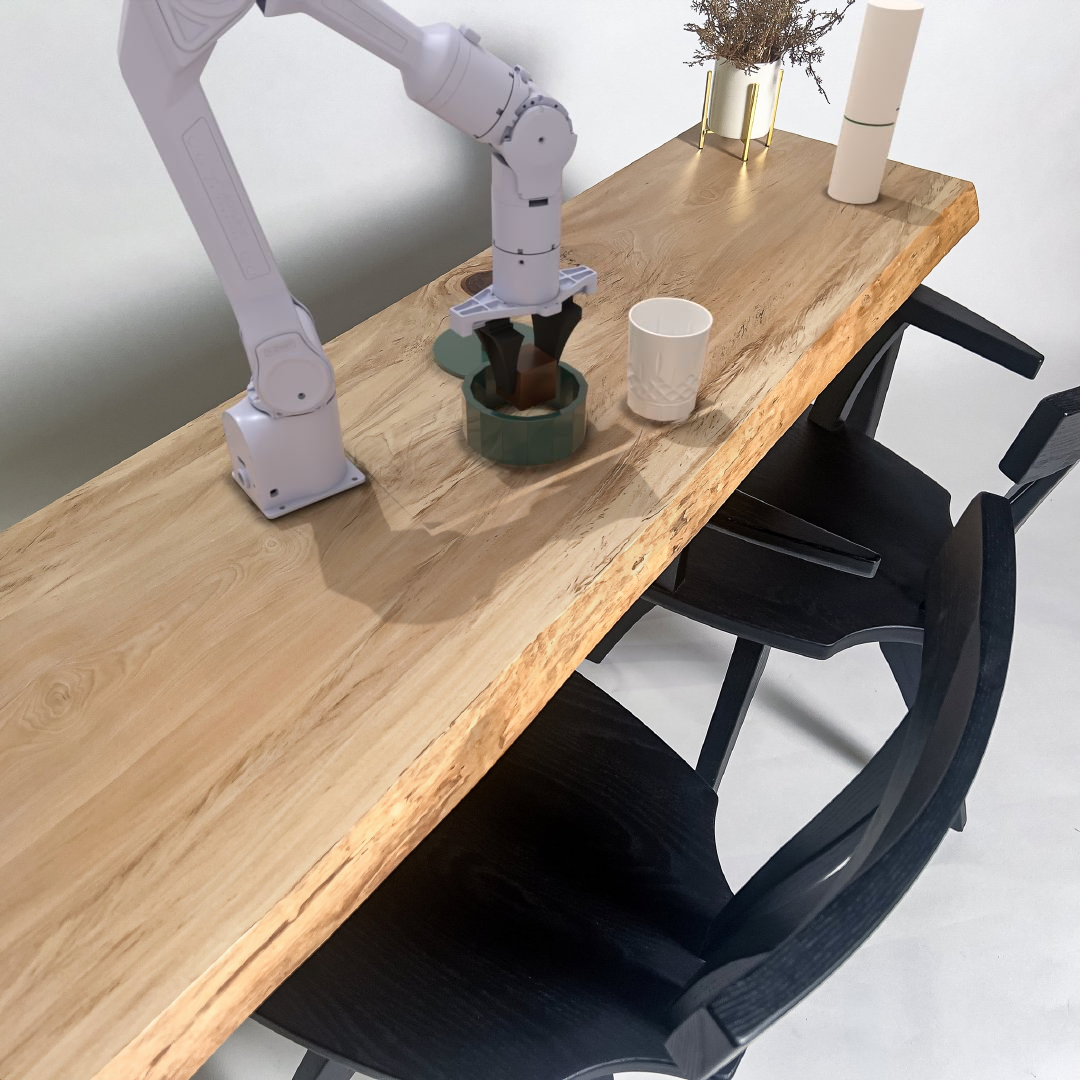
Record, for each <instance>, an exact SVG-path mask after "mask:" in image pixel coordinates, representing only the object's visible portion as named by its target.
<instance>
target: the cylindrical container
mask: <svg viewBox="0 0 1080 1080" xmlns="http://www.w3.org/2000/svg"><path fill="white" fill-rule="evenodd" d="M925 7H926V5H925V4H924V3H922V2H920V1H917V0H868V1H867V5H866V10H865V15H864V19H863V23H862V28H861V33H860V38H859V42H858V47H857V52H856V57H855V61H854V65H853V71H852V75H851V80H850V85H849V90H848V94H847V97H846V104H845V108H844V113H843V118H842V121H841V122H842V123H841V127H840V132H839V136H838V140H837V141H838V142H837V146H836V151H835V155H834V160H833V165H832V170H831V174H830V179H829V184H828V188H827V194H828V196H829V197H831V198H832V199H834V200H835V201H839V202H842V203H847V204H853V205H865V204H871V203H874V202H876V201H877V200H878V197H879V193H880V190H881V185H882V181H883V178H884V174H885V169H886V165H887V161H888V158H889V153H890V149H891V146H892V141H893V138H894V137H893V136H894V133H895V128H896V125H897V121H898V117H899V113H900V108H901V105H902V100H903V96H904V92H905V88H906V84H907V81H908V76H909V72H910V68H911V63H912V60H913V56H914V52H915V48H916V45H917V44H916V43H917V40H918V37H919V31H920V28H921V24H922V19H923V16H924V12H925Z"/></svg>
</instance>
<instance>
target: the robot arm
mask: <svg viewBox="0 0 1080 1080" xmlns="http://www.w3.org/2000/svg"><path fill="white" fill-rule="evenodd" d="M255 4H256V6H257V8H258V9H259V10H260V12H261V14H262V16H263V17H264V18H276V17H280V16H287V15H293V14H300V13H301V14H305V15H307V16H309V17H310V18H312V19H314V20H316V21H317V22H319V23H321V24H323V25H324V26H326V27H327V28H329V29H331V30H332V31H334V32H335V33H337V34H339V35H341V36H342V37H344V38H345V39H347V40H349V41H351V42H352V43H354V44H356V45H357V46H359V47H360V48H362V49H364V50H366V51H367V52H370V54H372V55H374V56H375V57H377V58H379V59H381V60H383V61H384V62H386V63H387V64H389V65H391V66H393V68H396V69H398V70H399V72H400V76H401V79H402V84H403V89H404V93H405V95H406V96H407V98H408V99H409V100H411V101H412V102H414V103H415V104H417V105H418V106H420V107H422V108H423V109H425V110H426V111H428V112H430V113H431V114H433V115H435V116H436V117H438V118H439V119H441V120H442V121H444V122H446V123H447V124H448V125H450V126H452V127H454V128H455V129H457V130H458V131H460V132H461V133H463V134H465V135H466V136H468V137H469V138H471V139H473V140H474V141H476V142H478V143H484V144H487V146H488V147H490V148H493V149H495V150H496V151H492V152H491V188H490V190H491V191H490V193H491V253H492V261H491V262H492V284H490V285H489V286H487V287H485V288H484V289H482V290H481V291H479V292H477V293H476V294H475V295H473V296H471V297H470V298H468V299H467V300H465V301H463V302H462V303H459V304H457V305H454V306H452V307H449V309H448V311H449V329H452V330H453V331H454V332H456V333H457V334H458V335H460V336H462V337H466V336H469V335H472V330H474V331H475V333H476V335H477V336H478V338H479V340H480V342H481V343H482V345H483V347H484V349H485V352H486V354H487V356H488V359H489V362H490V364H491V368H492V371H493V374H494V378H495V382H496V386H497V387H498V388H499V389H500V390H502V391H503V392H504V393H506V394H507V395H511V394H514V393H515V389H516V382H517V362H518V356H519V352H520V348H521V345H522V342H523V340H524V337H525V336H524V335H523V334H521V333H520V332H518V331H517V330H515V329H514V328H513V323H511V322H510V321H511V318H512V317H520V316H529V315H530V317H531V322H532V323H531V324H532V327H533V331H534V345H535V346H536V347H538V348H539V349H541V350H542V351H544V352H545V353H547V354H548V355H550V356H551V357H553V358H554V359H555V360H557V366H556V370H557V367H558V364H559V361H561V358H562V355H563V352H564V349H565V347H566V346H567V345H566V344H568V343H567V342H568V341H569V339H570V337H571V335H572V333H573V332H574V330H575V328H576V327H577V326H578V324H579V323H580V322H581V321H582V319H583V318H582V317H583V307H582V306H581V305H579V304H577V303H576V302H575V301H574V297H575V296H577V295H580V294H584V295H586V296H590V295H592V294H596V293H597V291H598V290H597V289H598V288H597V287H598V272H597V271H595V270H593V269H592V268H590V267H588V266H586V265H584V264H583V265H580V266H576V267H571V268H570V267H569V268H564V269H563V268H562V269H560V268H561V267H560V266H561V242H562V241H561V240H562V214H563V210H562V209H563V172H564V169H565V167H566V166H567V164H568V163H569V162H570V160H571V158H572V156H573V154H574V152H575V151H576V147H577V144H578V143H577V142H578V134H577V133H575V132H574V131H573V123H572V121H573V120H572V118H570V116H569V115H570V113H569V112H568V110H567V109H566V108H565V106H564V105H563V104H562V103H561V102H559V101H558V100H557V99H555V98H554V97H553V96H552V95H550V94H549V93H548V92H547V91H546V90H544V89H543V88H542V87H541V86H539V84H537V83H535V82H534V80H533V79H532V78H531V77H532V74H531V72H529V71H528V70H527V69H525V68H524V67H523V66H521V65H520V64H515V66H514V67H511V66H510V65H509V64H507V63H506V62H505V61H503V60H501V59H500V58H498V57H497V56H496V55H494V54H493V53H491V52H490V51H489V50H487V49H486V48H484V47H483V46H482V45H480V44H479V43H480V41H481V40H482V37H481V35H480V34H479V33H478V32H477V31H476V30H474V29H472V28H471V27H470V26H469V25H467V24H466V23H463V22H462V23H461V24H460V25H459V26H458V28H456V27H455V26H454V25H452V24H450V22H446V21H441V22H436V23H433V24H429V25H425V26H418V25H417V24H416V23H414V22H412V21H411V20H410V19H408V18H407V17H406V16H404V15H403V14H401V13H400V12H399V11H397V10H396V9H395V8H393V7H392V6H391V5H389V4H388V3H386V1H384V0H122V7H121V15H120V23H119V30H118V37H117V47H116V48H117V49H116V53H117V62H118V66H119V70H120V73H121V76H122V79H123V81H124V83H125V85H126V87H127V90H128V92H129V94H130V96H131V98H132V100H133V102H134V104H135V107H136V109H137V110H138V113H139V115H140V117H141V119H142V121H143V123H144V126H145V127H146V129H147V131H148V134H149V136H150V138H151V140H152V142H153V144H154V147H155V148H156V150H157V153H158V155H159V157H160V160H161V161H162V163H163V164H164V167H165V169H166V172H167V173H168V175H169V178H170V180H171V182H172V184H173V187H174V188H175V191H176V192H177V194H178V197H179V198H180V201H181V203H182V205H183V207H184V210H185V211H186V213H187V216H188V218H189V219H190V222H191V224H192V226H193V228H194V230H195V232H196V235H197V237H198V239H199V241H200V243H201V245H202V247H203V249H204V251H205V254H206V255H207V258H208V259H209V262H210V264H211V266H212V268H213V270H214V273H215V274H216V276H217V279H218V281H219V282H220V285H221V287H222V289H223V291H224V293H225V296H226V297H227V299H228V302H229V304H230V306H231V308H232V311H233V313H234V316H235V318H236V320H237V324H238V327H239V332H238V333H239V338H240V341H241V344H242V346H243V348H244V350H245V353H246V357H247V361H248V364H249V369H250V372H251V377H250V381H249V384H247V386H246V393H247V394H246V396H244V398H243V399H241V400H240V401H239V402H238V403H235V404H234V405H233V406H231V407H229V408H227V409H225V410H224V411H223V412H222V415H221V423H222V428H223V431H224V436H225V440H226V446H227V450H228V454H229V459H230V463H231V467H232V472H231V477H232V478H233V479H234V481H235V482H236V483H237V484H238V485H239V487H240V488H241V489H242V490H243V491H244V492H245V494H246V495H247V496H248V497H249V498H250V500H251V501H252V502H253V503H254V504H255V505H256V506H257V507H258V509H259V510H260V511H261V512H262V514H263V515H264V516H265V517H266V518H267V519H271V520H273V519H276V518H278V517H281V516H284V515H286V514H289V513H291V512H294V511H296V510H299V509H301V508H304V507H306V506H309V505H312V504H313V503H317V502H318V501H321V500H324V499H327V498H329V497H331V496H334V495H337V494H339V493H341V492H344V491H346V490H349V489H351V488H353V487H356V486H359V485H361V484H363V483H365V482H366V475H365V474H364V473H363V472H362V471H361V470H360V469H359V468H358V467H357V466H356V465H354V463H353V462H351V461H350V459H348V457H346V453H345V446H344V440H343V439H344V438H343V432H342V425H341V419H340V409H339V404H338V396H337V389H336V382H335V381H336V377H335V376H336V375H335V374H336V373H335V368H334V367H333V364H332V362H331V360H330V358H329V357H328V355H327V354H326V352H325V349H324V347H323V345H322V342H321V340H320V338H319V335H318V333H317V329H316V322H315V320H314V317H313V315H312V313H311V311H310V310H309V308H307V306H305V305H304V304H303V303H302V302H300V301H299V300H298V299H297V298H296V297H295V296H293V294H292V292H291V291H290V290H289V289H290V288H289V287H288V285H287V283H286V280H285V278H284V276H283V273H282V271H281V270H280V267H279V265H278V263H277V260H276V257H275V255H274V253H273V251H272V250H273V249H272V248H271V246H270V244H269V242H268V238H267V237H266V234H265V232H264V229H263V227H262V225H261V222H260V219H259V218H258V215H257V213H256V210H255V208H254V205H253V204H252V200H251V199H250V196H249V194H248V192H247V189H246V187H245V184H244V182H243V180H242V177H241V175H240V172H239V171H238V170H239V169H238V168H237V166H236V164H235V161H234V159H233V157H232V154H231V151H230V149H229V146H228V144H227V142H226V140H225V137H224V134H223V133H222V130H221V128H220V125H219V123H218V121H217V119H216V116H215V114H214V111H213V109H212V107H211V104H210V102H209V100H208V97H207V95H206V92H205V90H204V88H203V85H202V83H201V81H200V78H201V76H202V74H203V72H204V70H205V68H206V66H207V63H208V62H209V60H210V58H211V56H212V54H213V52H214V50H215V48H216V45H217V43H218V40H219V39H220V38H222V37H223V36H224V35H225V34H226V33H227V32H228V31H230V30H231V29H232V28H233V27H235V25H236V24H238V23H239V22H240V21H241V20H242V19H243V18H244V17H245V16H246V15H247V14H248V12H250V10H251V9H252V8H253V7H254V5H255Z"/></svg>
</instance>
